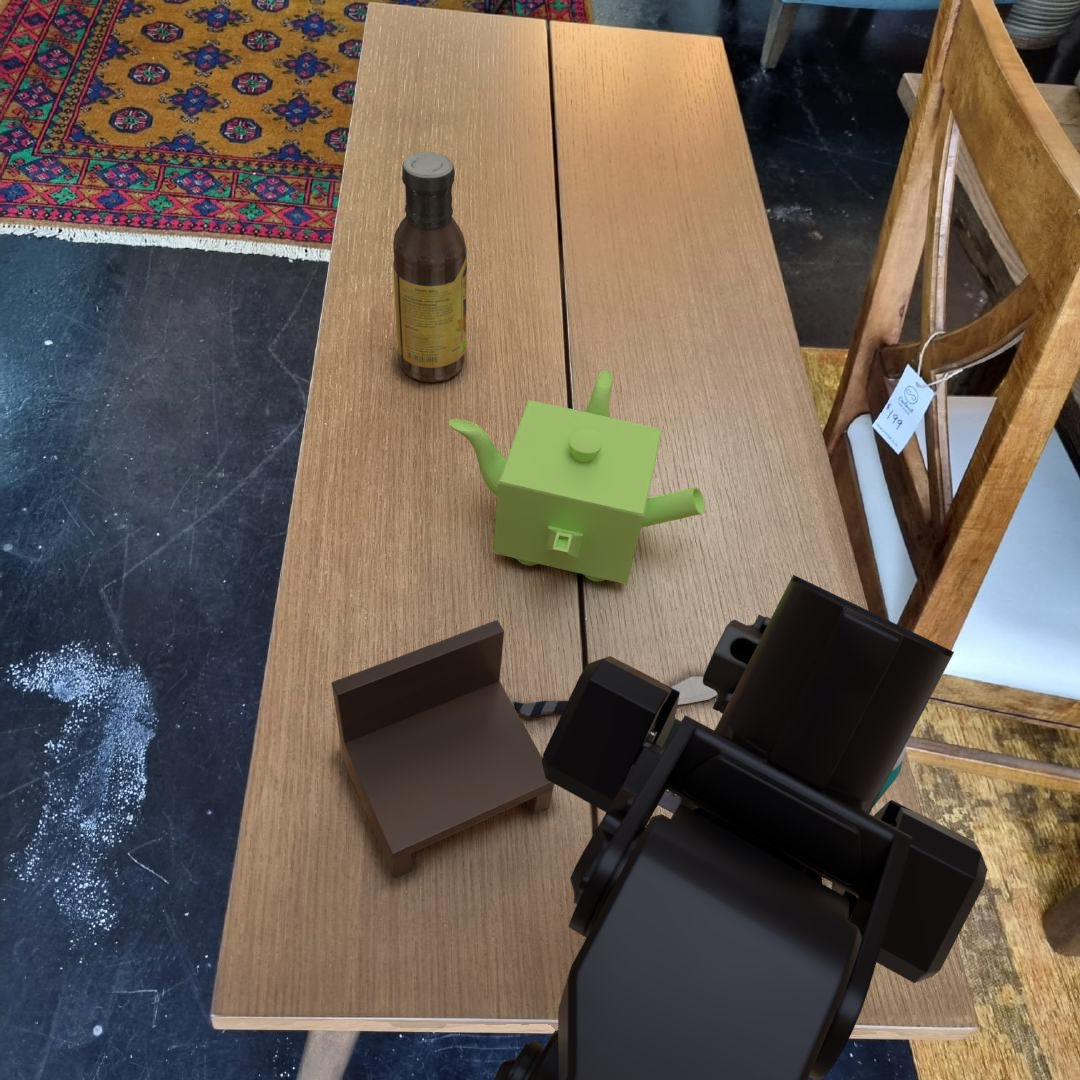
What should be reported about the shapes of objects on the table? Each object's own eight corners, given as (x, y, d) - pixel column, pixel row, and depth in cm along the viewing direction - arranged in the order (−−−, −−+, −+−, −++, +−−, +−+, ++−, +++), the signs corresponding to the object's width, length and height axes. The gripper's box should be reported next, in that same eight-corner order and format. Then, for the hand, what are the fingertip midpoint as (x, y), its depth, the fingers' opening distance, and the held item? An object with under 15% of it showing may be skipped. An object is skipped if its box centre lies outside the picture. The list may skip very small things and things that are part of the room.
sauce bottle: (477, 373, 92) (486, 177, 77) (417, 394, 90) (414, 196, 74) (443, 333, 96) (445, 137, 80) (385, 352, 93) (375, 154, 78)
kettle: (445, 508, 82) (447, 407, 73) (585, 448, 87) (602, 348, 79) (548, 640, 74) (563, 545, 66) (693, 564, 80) (725, 468, 71)
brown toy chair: (549, 807, 66) (565, 735, 58) (394, 879, 62) (388, 811, 54) (490, 699, 71) (497, 619, 63) (343, 759, 67) (331, 682, 59)
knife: (519, 736, 69) (520, 729, 68) (511, 705, 70) (512, 698, 70) (773, 689, 73) (776, 682, 72) (760, 661, 75) (764, 654, 74)
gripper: (1094, 782, 34) (1006, 720, 49) (611, 550, 39) (666, 558, 54) (948, 1063, 35) (906, 917, 50) (492, 803, 40) (579, 741, 55)
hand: (760, 774), depth 52 cm, fingers open, 9 cm apart
